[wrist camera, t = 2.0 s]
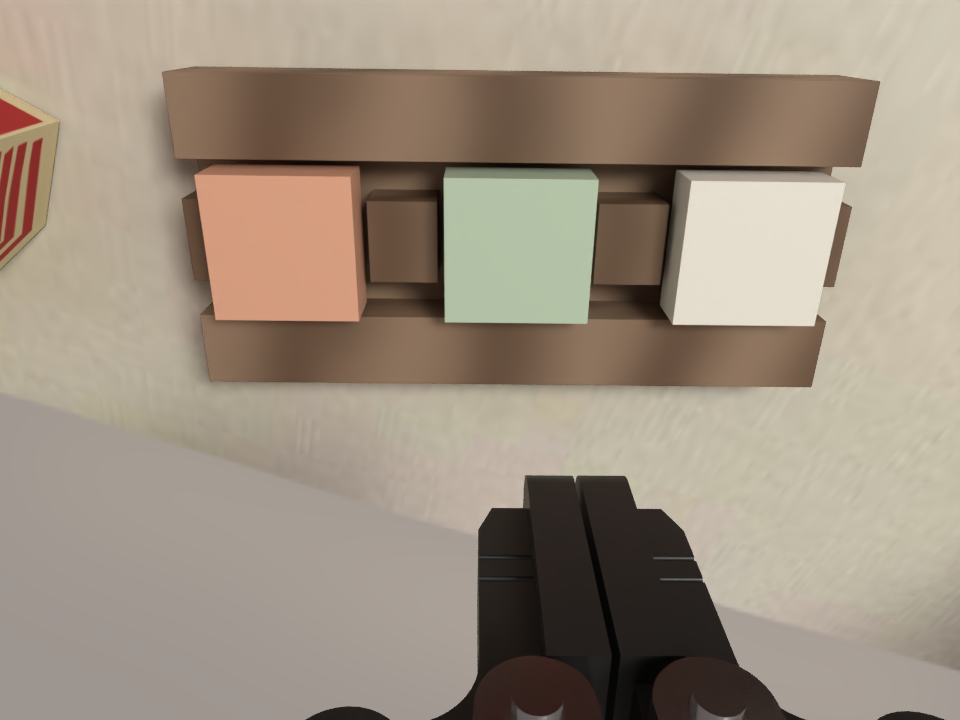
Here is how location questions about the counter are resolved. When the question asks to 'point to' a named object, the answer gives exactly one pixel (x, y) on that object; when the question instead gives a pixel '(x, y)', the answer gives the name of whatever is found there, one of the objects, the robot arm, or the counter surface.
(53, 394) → the counter surface
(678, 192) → the ivory key
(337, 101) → the key board
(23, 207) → the milk carton
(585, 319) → the sage green key
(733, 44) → the counter surface
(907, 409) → the counter surface
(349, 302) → the terracotta key
